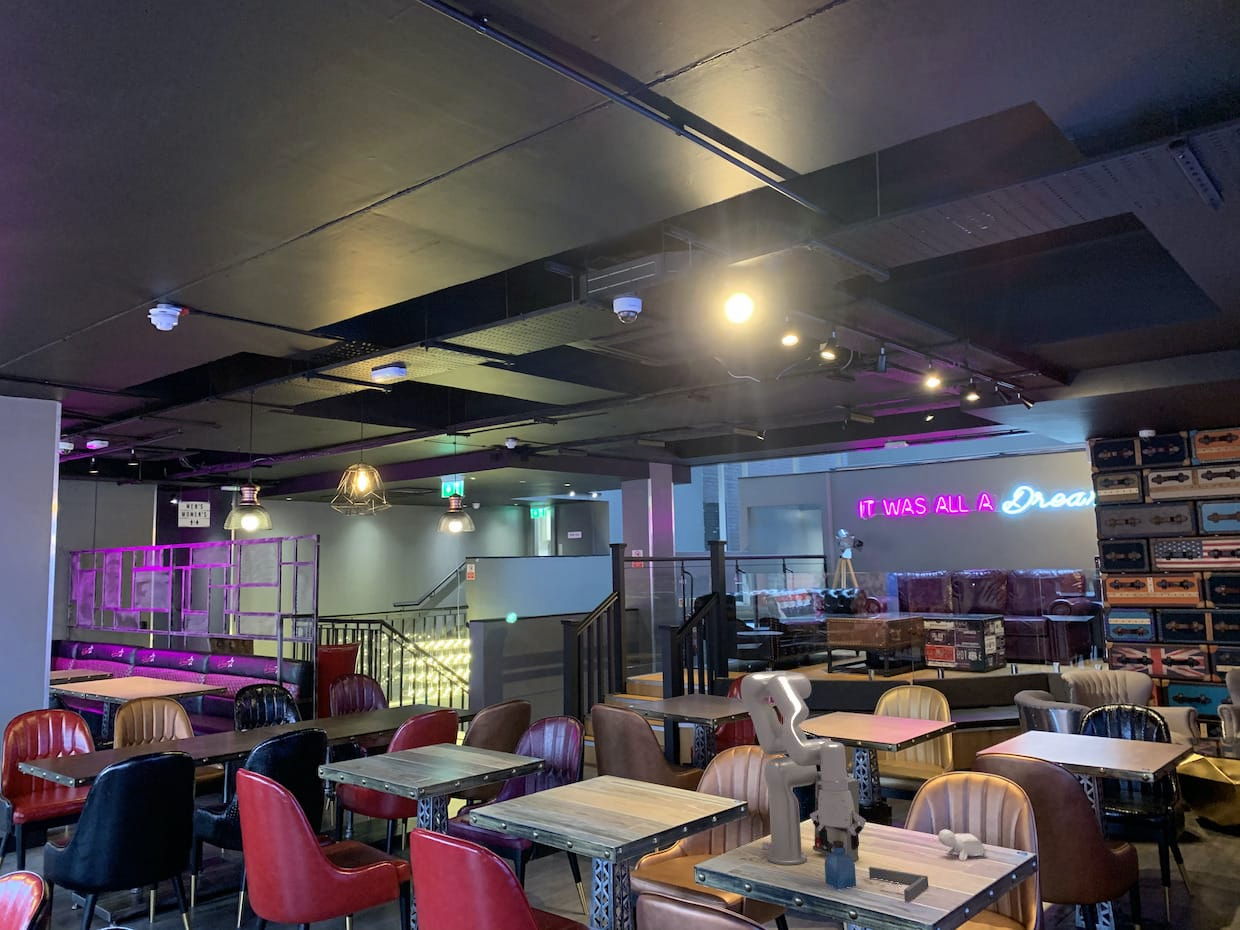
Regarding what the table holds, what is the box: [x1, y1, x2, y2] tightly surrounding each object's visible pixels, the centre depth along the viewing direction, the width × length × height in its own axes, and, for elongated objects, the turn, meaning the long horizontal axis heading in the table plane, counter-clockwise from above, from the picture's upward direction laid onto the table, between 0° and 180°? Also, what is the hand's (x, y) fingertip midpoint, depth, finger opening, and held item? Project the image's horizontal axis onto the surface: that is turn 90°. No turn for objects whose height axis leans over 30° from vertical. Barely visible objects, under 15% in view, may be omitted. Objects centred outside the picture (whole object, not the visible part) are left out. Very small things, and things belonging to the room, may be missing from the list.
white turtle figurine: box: [938, 828, 988, 862], centre depth 280 cm, size 8×8×15 cm
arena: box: [868, 866, 929, 903], centre depth 252 cm, size 17×15×3 cm
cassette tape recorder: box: [812, 770, 860, 862], centre depth 284 cm, size 14×6×25 cm, turn 37°
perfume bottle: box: [824, 841, 857, 890], centre depth 257 cm, size 6×6×12 cm
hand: (839, 846), depth 257 cm, fingers open, 9 cm apart
